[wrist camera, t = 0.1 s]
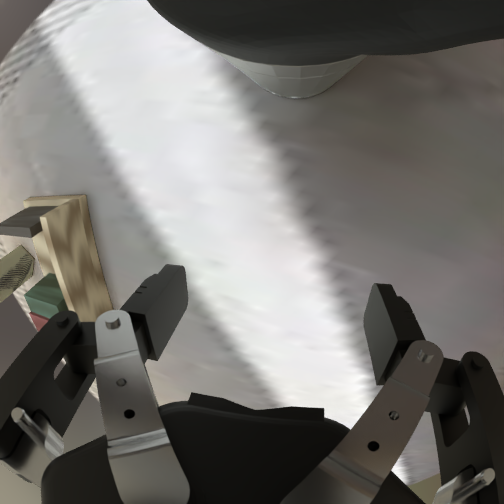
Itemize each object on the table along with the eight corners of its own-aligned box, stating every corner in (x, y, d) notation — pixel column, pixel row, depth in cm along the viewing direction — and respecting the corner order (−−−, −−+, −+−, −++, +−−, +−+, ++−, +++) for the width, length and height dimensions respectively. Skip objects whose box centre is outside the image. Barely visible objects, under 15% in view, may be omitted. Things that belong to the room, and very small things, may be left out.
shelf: (29, 197, 32) (-11, 219, 25) (85, 194, 30) (39, 220, 23) (63, 309, 42) (37, 339, 34) (118, 324, 40) (92, 361, 33)
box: (32, 276, 40) (-12, 316, 28) (19, 262, 39) (-26, 299, 28) (35, 257, 37) (-15, 298, 26) (20, 242, 37) (-29, 280, 25)
